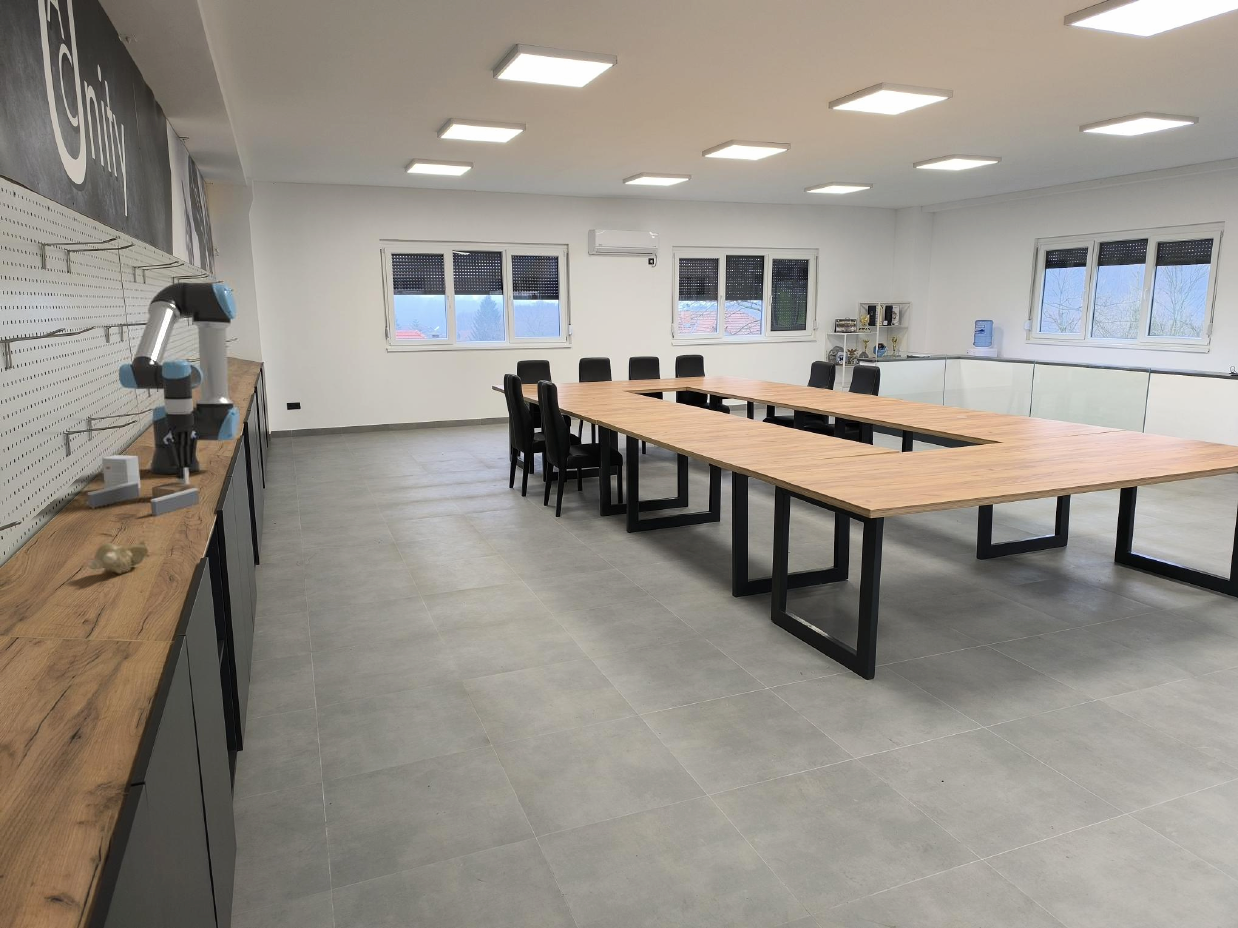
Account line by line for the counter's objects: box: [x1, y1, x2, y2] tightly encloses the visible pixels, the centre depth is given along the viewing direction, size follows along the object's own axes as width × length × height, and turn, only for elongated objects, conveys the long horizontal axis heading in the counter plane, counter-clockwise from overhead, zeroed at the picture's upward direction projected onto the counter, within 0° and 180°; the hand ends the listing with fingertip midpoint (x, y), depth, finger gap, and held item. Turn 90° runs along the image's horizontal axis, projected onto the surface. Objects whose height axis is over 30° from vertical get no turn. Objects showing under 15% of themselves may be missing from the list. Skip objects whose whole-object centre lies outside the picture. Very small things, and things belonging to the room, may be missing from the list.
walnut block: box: [151, 481, 196, 499], centre depth 243 cm, size 8×8×4 cm
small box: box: [101, 454, 141, 490], centre depth 250 cm, size 8×6×10 cm
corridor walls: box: [87, 482, 200, 517], centre depth 233 cm, size 16×23×4 cm
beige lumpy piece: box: [87, 540, 149, 575], centre depth 177 cm, size 8×7×12 cm
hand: (184, 488), depth 247 cm, fingers closed
